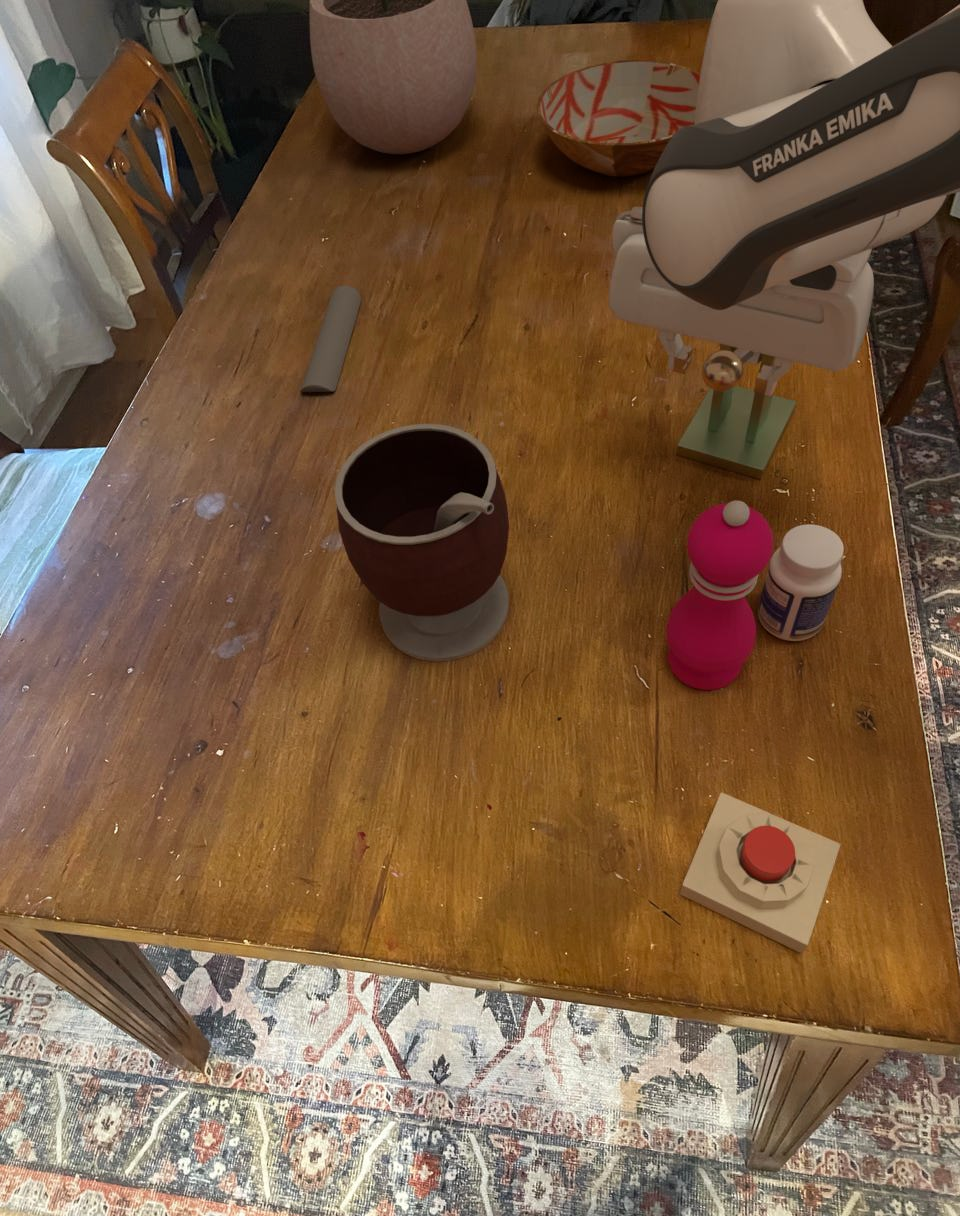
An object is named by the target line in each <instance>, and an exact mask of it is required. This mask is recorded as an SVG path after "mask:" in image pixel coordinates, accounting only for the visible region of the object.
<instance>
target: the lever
mask: <svg viewBox="0 0 960 1216" xmlns="http://www.w3.org/2000/svg"><path fill="white" fill-rule="evenodd" d="M762 355H763V354H761V353H757V352H753V351H749V350H745V349H740V348H737V350H735V351H734V352H732V351H729V350H720V349H719V350H717V351H714V352H713V353H711V354H709V356H708V357H706V358H705V360H704V362H703V364H702V368H701V376H702V380H703V382H704V384H705V385H706V386H707V387H708V388H709V389H710V388H711V389H713V390H715V391H727V390H730V389H732V388H733V387H735V386H738V384H739V383H740V381H741V380H742V377H743V374H744V364H745V363H748V364H752V365H755V366H756V365H759V364H760V363H761V360H762Z"/></svg>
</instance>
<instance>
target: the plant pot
mask: <svg viewBox="0 0 960 1216" xmlns="http://www.w3.org/2000/svg"><path fill="white" fill-rule="evenodd" d="M475 35H476V34H475V29H474V25H473V21H472V16H471V13H470V8H469V5H468V1H467V0H309V42H310V53H311V60H312V67H313V71H314V75H315V78H316V82H317V85H318V87H319V90H320V92H321V94H322V97H323V99H324V102H325V104H326V106H327V108H328V110H329V111H330V113H331V116H332V118H334V120H335V121H336V123H337V124H338V126H339V127H340V128H341V129H342V130H343V131H344V132H345V133H346V134H347V135H348V136H349V137H351V139H353V140H355V142H357V143H359V144H360V145H361V146H363V147H366V148H368V149H371V150H373V151H375V152H379V153H383V154H388V155H389V154H390V155H407V154H414V153H419V152H422V151H425V150H427V149H429V148H432V147H434V146H435V145H437V144H439V143H440V142H442V141H443V140H445V139H446V138H447V137H448V136H449V135H450V134H451V133H452V132H453V131H454V130H455V129H456V128H457V127H458V125H460V123H461V121H462V120H463V118H464V116H465V114H466V112H467V110H468V108H469V105H470V103H471V100H472V97H473V94H474V90H475V83H476V77H477V45H476V36H475Z"/></svg>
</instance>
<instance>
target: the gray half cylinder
mask: <svg viewBox="0 0 960 1216" xmlns="http://www.w3.org/2000/svg"><path fill="white" fill-rule="evenodd" d="M361 303H362V296H361V293H360V292H359V291H358V289H356V288H355V287H354V286H351V285H345V284H343V285H338V286H337V287H335V288H334V289H333V290H332V292H331V294H330V298H329V300H328V304H327V307H326V310H325V313H324V316H323V319H322V322H321V325H320V328H319V331H318V335H317V337H316V341H315V345H314V346H313V350H312V353H311V356H310V358H309V359H310V360H309V363H308V366H307V368H306V371H305V374H304V378H303V381H302V384H301V388H300V390H299V392H301V393H333V392H335V391H336V390H337V386H338V383H339V379H340V376H341V372H342V369H343V366H344V362H345V359H346V356H347V351H348V349H349V345H350V342H351V338H352V333H353V331H354V328H355V327H354V326H355V324H356V320H357V317H358V313H359V309H360V306H361Z"/></svg>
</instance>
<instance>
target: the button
mask: <svg viewBox="0 0 960 1216" xmlns="http://www.w3.org/2000/svg"><path fill="white" fill-rule="evenodd" d="M794 859H795V848H794V845H793V842H792V841H791V839H790V838H789V836H788V835H787V834H786V833H784V832H783V831H782V830H780V829H778V828H776V827H772V826H759V827H756V828H754V829H753V830H751V831H750V832H749V833H748V835H747V836H746V838H745V841H744V843H743V845H742V848H741V860H742V863H743V865H744V867H745V869H746V870H747V871H748V872H749V873H750V874H751V875H752V876H754V877H755V878H757V879H760V880H763V881H776V880H779V879H781V878H782V877H784V876H785V875H786V874H787V872H788V870H789V869H790V867H791V865H792V864H793V862H794Z"/></svg>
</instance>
